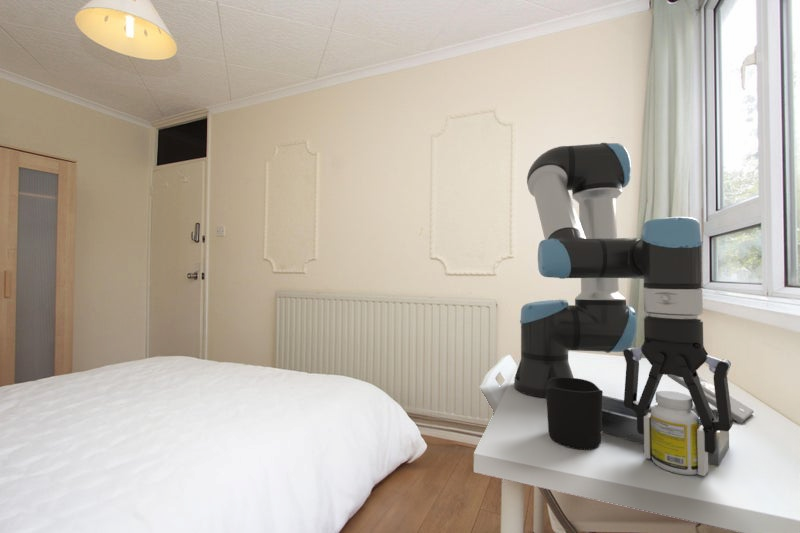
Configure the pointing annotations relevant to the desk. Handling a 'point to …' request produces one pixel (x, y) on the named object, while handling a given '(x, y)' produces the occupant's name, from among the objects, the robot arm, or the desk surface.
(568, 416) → the pen holder
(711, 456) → the rail
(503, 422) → the desk surface
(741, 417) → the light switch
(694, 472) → the pill bottle
